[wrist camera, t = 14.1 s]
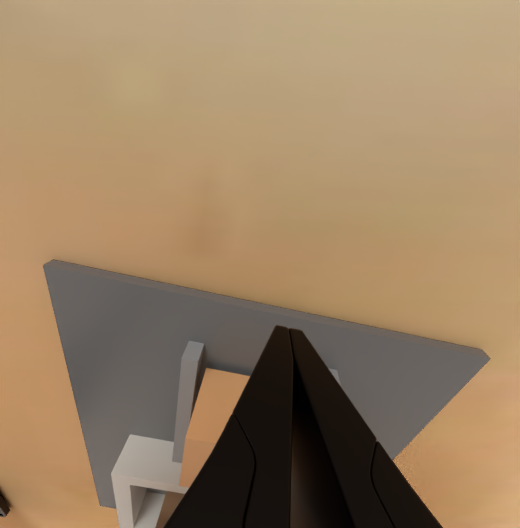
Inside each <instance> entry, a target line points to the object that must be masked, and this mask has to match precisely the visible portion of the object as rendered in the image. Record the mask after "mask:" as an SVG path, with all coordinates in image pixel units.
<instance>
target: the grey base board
mask: <svg viewBox="0 0 520 528" xmlns="http://www.w3.org/2000/svg"><path fill="white" fill-rule="evenodd" d="M43 268H44V272H45V276H46V280H47V284H48V289H49V293H50V297H51V301H52V306H53V310H54V314H55V318H56V322H57V327H58V331H59V335H60V339H61V343H62V348H63V352H64V356H65V360H66V364H67V369H68V373H69V377H70V381H71V385H72V390H73V394H74V398H75V402H76V407H77V411H78V415H79V419H80V423H81V428H82V432H83V436H84V440H85V444H86V449H87V453H88V457H89V461H90V465H91V470H92V474H93V478H94V482H95V486H96V491H97V495H98V499H99V503H100V506H103V507H109V508H116V509H117V515H118V521H119V527H120V528H155V527H156V524H157V521H158V518H159V514H160V511H161V508H162V504H163V501H164V498H165V495H166V491H171V492H177V493H182V494H185V493H186V492H187V490H188V489H189V488H188V487H182V486H179V483H180V475H181V467H182V460H183V452H184V445H185V437H186V434H187V431H188V427H189V424H190V421H191V417H192V414H193V411H194V407H195V404H196V400H197V397H198V394H199V390H200V387H201V384H202V380H203V377H204V374H205V370H206V368H210V369H215V370H221V371H226V372H231V373H236V374H241V375H246V376H251V374H252V372H253V370H254V368H255V365H256V363H257V361H258V359H259V357H260V355H261V353H262V351H263V349H264V347H265V345H266V343H267V341H268V339H269V337H270V335H271V333H272V331H273V329H274V327H275V326H276V325H280V326H285V327H287V328H288V329H289V328H294V329H299V330H302V331H303V332H304V334H305V335H306V337H307V338H308V340H309V341H310V343H311V344H312V345H313V347H314V348H315V350H316V351H317V353H318V354H319V356H320V357H321V358H322V360H323V361H324V363H325V364H326V366H327V367H328V369H329V370H330V371H331V373H332V374H333V376H334V377H335V379H336V380H337V382H338V383H339V384H340V386H341V387H342V389H343V390H344V392H345V393H346V395H347V396H348V397H349V399H350V400H351V402H352V403H353V405H354V406H355V408H356V409H357V410H358V412H359V413H360V415H361V416H362V418H363V419H364V421H365V422H366V423H367V425H368V426H369V428H370V429H371V431H372V432H373V434H374V435H375V436H376V438H377V441H379V442H380V443H381V445H382V446H383V448H384V449H385V451H386V452H387V454H388V455H389V456H390V458H391V459H392V460H393V459H394V458H395V457H396V456H397V455H398V454H399V453H400V452H401V451H402V450H403V449H404V448H405V447H406V446H407V445H408V444H409V443H410V442H411V441H412V440H413V439H414V438H415V437H416V435H417V434H418V433H419V432H420V431H421V430H422V429H423V428H424V427H425V426H426V425H427V424H428V423H429V422H430V421H431V420H432V419H433V418H434V417H435V416H436V415H437V414H438V413H439V412H440V411H441V410H442V409H443V408H444V406H445V405H446V404H447V403H448V402H449V401H450V400H451V399H452V398H453V397H454V396H455V395H456V394H457V393H458V392H459V391H460V390H461V389H462V388H463V387H464V386H465V385H466V384H467V383H468V382H469V381H470V380H471V378H472V377H473V376H474V375H475V374H476V373H477V372H478V371H479V370H480V369H481V368H482V367H483V366H484V365H485V364H486V363H487V362H488V361H489V360H490V358H489V356H488V355H487V354H486V353H485V352H484V351H483V350H481V349H476V348H472V347H467V346H462V345H457V344H452V343H448V342H443V341H438V340H433V339H429V338H424V337H419V336H414V335H410V334H405V333H400V332H395V331H391V330H386V329H381V328H376V327H372V326H367V325H362V324H357V323H353V322H348V321H343V320H338V319H334V318H329V317H324V316H319V315H315V314H310V313H305V312H300V311H296V310H291V309H286V308H281V307H277V306H272V305H267V304H262V303H257V302H253V301H248V300H243V299H238V298H234V297H229V296H224V295H219V294H215V293H210V292H205V291H200V290H196V289H191V288H186V287H181V286H177V285H172V284H167V283H162V282H158V281H153V280H148V279H143V278H139V277H134V276H129V275H124V274H120V273H115V272H110V271H105V270H101V269H96V268H91V267H86V266H82V265H77V264H72V263H67V262H62V261H58V260H51V261H50V262H48V263H46V264H44V265H43Z"/></svg>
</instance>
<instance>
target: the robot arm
mask: <svg viewBox="0 0 520 528" xmlns="http://www.w3.org/2000/svg"><path fill="white" fill-rule="evenodd" d="M9 511H10V509H9V508H8V506H7V505H6V503H5V502H4V500H3V499H2V497H1V496H0V516H1V517H6V516H7V514H8V513H9ZM163 528H443V527H442V526H441V525H440V523H439V522H438V521H437V520H436V518H435V517H434V516H433V514H432V513H431V512H430V510H429V509H428V508H427V507H426V505H425V504H424V503H423V501H422V500H421V499H420V497H419V496H418V495H417V494H416V492H415V491H414V490H413V488H412V487H411V486H410V484H409V483H408V482H407V480H406V479H405V477H404V476H403V475H402V473H401V472H400V470H399V469H398V468H397V466H396V465H395V463H394V462H393V461H392V459H391V458H390V456H389V455H388V454H387V452H386V451H385V449H384V448H383V446H382V445H381V443H380V442H379V441H377V438H376V436H375V435H374V434H373V432H372V431H371V429H370V428H369V426H368V425H367V423H366V422H365V421H364V419H363V418H362V416H361V415H360V413H359V412H358V410H357V409H356V408H355V406H354V405H353V403H352V402H351V400H350V399H349V397H348V396H347V395H346V393H345V392H344V390H343V389H342V387H341V386H340V384H339V383H338V382H337V380H336V379H335V377H334V376H333V374H332V373H331V371H330V370H329V369H328V367H327V366H326V364H325V363H324V361H323V360H322V358H321V357H320V356H319V354H318V353H317V351H316V350H315V348H314V347H313V345H312V344H311V343H310V341H309V340H308V338H307V337H306V335H305V334H304V332H303V331H302V330H299V329H294V328H289V329H288V328H287V327H285V326H280V325H276V326H275V327H274V329H273V331H272V333H271V335H270V337H269V339H268V341H267V343H266V345H265V347H264V349H263V351H262V353H261V355H260V357H259V359H258V361H257V363H256V365H255V368H254V370H253V372H252V374H251V376H250V378H249V380H248V382H247V384H246V386H245V388H244V390H243V392H242V394H241V396H240V398H239V400H238V402H237V404H236V406H235V408H234V410H233V412H232V415H231V416H230V418H229V420H228V422H227V424H226V426H225V428H224V430H223V432H222V433H221V435H220V437H219V439H218V441H217V443H216V445H215V446H214V448H213V450H212V452H211V454H210V455H209V457H208V459H207V460H206V462H205V463H204V465H203V467H202V468H201V470H200V471H199V473H198V475H197V476H196V478H195V479H194V481H193V483H192V484H191V486H190V487H189V489H188V490H187V492H186V493H185V495H184V496H183V498H182V499H181V501H180V502H179V504H178V505H177V507H176V508H175V510H174V511H173V513H172V514H171V516H170V517H169V519H168V520H167V522H166V523H165V525H164V527H163Z"/></svg>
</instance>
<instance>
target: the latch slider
mask: <svg viewBox="0 0 520 528" xmlns="http://www.w3.org/2000/svg"><path fill="white" fill-rule="evenodd" d="M249 378H250V376H246V375H241V374H236V373H231V372H226V371H221V370H215V369H210V368H206V370H205V374H204V377H203V380H202V384H201V387H200V390H199V394H198V397H197V400H196V404H195V407H194V411H193V414H192V417H191V421H190V424H189V427H188V431H187V434H186V437H185V445H184V452H183V460H182V467H181V475H180V483H179V486H182V487H188V488H189V487H190V486H191V484H192V483H193V481H194V479H195V478H196V476H197V475H198V473H199V471H200V470H201V468H202V467H203V465H204V463H205V462H206V460H207V459H208V457H209V455H210V454H211V452H212V450H213V448H214V446H215V445H216V443H217V441H218V439H219V437H220V435H221V433H222V432H223V430H224V428H225V426H226V424H227V422H228V420H229V418H230V416H231V415H232V412H233V410H234V408H235V406H236V404H237V402H238V400H239V398H240V396H241V394H242V392H243V390H244V388H245V386H246V384H247V382H248V380H249Z"/></svg>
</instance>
